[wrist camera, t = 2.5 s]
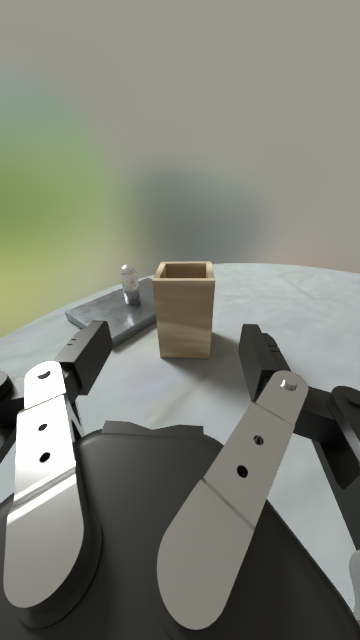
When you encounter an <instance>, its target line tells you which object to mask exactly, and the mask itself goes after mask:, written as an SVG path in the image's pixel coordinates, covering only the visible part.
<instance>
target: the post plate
mask: <svg viewBox="0 0 360 640" xmlns="http://www.w3.org/2000/svg"><path fill="white" fill-rule="evenodd" d="M120 277H121V282H122V287H123V288H122V289H119V290H117V291H115V292H112V293H110V294H107V295H105V296H102V297H100V298H97V299H95V300H93V301H90V302H88V303H85V304H83V305H80V306H78V307H75V308H73V309H71V310H68V311H66V312H65V314H66V316H67V319H68V320H69V321H70V322H72V323H73V324H75V325H76V326H78V327H79V328H81V329H84V328H87V327H88V325H89V324H90V323H91V322H92V321H93V320H99V321H107V322H108V325H109V329H110V333H111V337H112V342H113V347H112V348H114V347H115V346H117V345H119V344H120V343H122V342H123V341H125V340H127V339H128V338H130V337H132V336H133V335H135V334H136V333H138V332H140V331H141V330H143V329H144V328H146V327H148V326H149V325H151V324H152V323H154V322H156V312H155V303H154V294H153V285H152V279H149V278H146V279H144V280H141V281H139V282H138V279H137V272H136V269H135V268H134V267H133V266H132V265H129V264H127V265H124V266H122V267H121V269H120Z"/></svg>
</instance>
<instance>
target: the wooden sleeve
mask: <svg viewBox="0 0 360 640" xmlns="http://www.w3.org/2000/svg"><path fill="white" fill-rule="evenodd" d="M152 285H153V294H154V303H155V312H156V321H157V330H158V339H159V348H160V357H161V358H194V359H210V346H211V332H212V318H213V303H214V289H215V278H214V273H213V268H212V263H211V262H161V264H160V266H159V268H158V270H157V272H156V274H155V276H154V278H153V280H152Z"/></svg>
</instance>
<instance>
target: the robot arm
mask: <svg viewBox="0 0 360 640" xmlns="http://www.w3.org/2000/svg"><path fill="white" fill-rule="evenodd" d="M112 347H113V342H112V337H111V333H110V329H109V325H108V322H107V321H99V320H93V321H92V322H91V323H90V324H89V325H88V327H87V328H84V329H82V330H81V331H79V332H78V333H76V334H75V335H74V337H73V338H72V339H71V340H70V341H69V342H68V343H67V345H66V346H65V347H64V348H63V349H62V350H61V352H60V353H59V354H58V355H57V356H56V357H55V358H54V360H53V361H52V362H47V363H43V364H40V365H38V366H36V367H35V368H33V369H32V370H31V371H29V373H28V374H27V375H26V376H21V377H16V378H11V379H10V378H9V376H8V375H7V374H6V373H5V372H3V371H0V463H1V462H2V460H3V459H4V457H5V456H6V454H7V453H8V451H9V450H10V448H11V447H12V445H13V444H14V443H15V441H16V440H17V443H16V467H15V490H14V493H13V494H11V495H10V496H9V497H8V498H7V499H5V500H4V501H3V502H2V503H0V640H360V391H358V390H356V389H353V388H350V387H346V386H337V387H335V388H334V389H333V390H332V392H331V393H330V392H326V391H323V390H319V389H315V388H312V387H309V386H308V385H307V383H306V382H305V380H304V379H303V378H302V377H300V376H299V375H297V374H295V373H293V372H291V370H290V368H289V366H288V364H287V362H286V361H285V359H284V357H283V355H282V353H281V352H280V349H279V348H278V347H277V344H276V342H275V340H274V339H273V338H272V337H271V336H270V335H268V334H267V333H262V332H261V330H260V328H259V326H258V325H257V324H243V327H242V332H241V338H240V343H239V356H240V360H241V363H242V367H243V371H244V375H245V378H246V382H247V386H248V390H249V393H250V397H251V401H252V404H251V405H250V406H249V408H248V409H247V411H246V413H245V414H244V416H243V417H242V419H241V420H240V422H239V423H238V425H237V426H236V428H235V430H234V431H233V433H232V434H231V436H230V437H229V439H228V440H227V442H226V444H225V445H223V444H221V443H220V442H219V441H217V440H215V439H214V438H212V437H210V436H207V435H204V434H203V426H191V425H175V426H170V427H165V428H160V429H155V430H151V429H148V428H145V427H142V426H139V425H137V424H134V423H131V422H121V421H105V424H104V426H103V429H100V430H96V431H94V432H91V433H89V434H87V435H85V433H84V429H83V425H82V421H81V417H80V413H79V409H78V405H77V402H76V398H77V396H78V395H88V393H89V391H90V389H91V388H92V386H93V384H94V382H95V380H96V378H97V377H98V375H99V373H100V371H101V369H102V367H103V366H104V364H105V362H106V360H107V358H108V356H109V355H110V353H111V351H112ZM292 433H295V434H298V435H300V436H303V437H306V438H309V439H311V440H312V442H313V445H314V447H315V450H316V452H317V455H318V457H319V460H320V462H321V464H322V467H323V469H324V472H325V474H326V477H327V479H328V481H329V484H330V486H331V489H332V491H333V494H334V496H335V499H336V501H337V503H338V506H339V508H340V511H341V513H342V516H343V518H344V520H345V523H346V525H347V528H348V530H349V533H350V535H351V538H352V540H353V542H354V545H355V547H356V550H357V551H356V552H354V553H353V554H352V556H351V558H350V562H349V571H350V577H351V580H352V584H353V588H354V593H355V608H354V612H353V613H352V611H351V609H350V608H349V606H348V605H347V603H346V601H345V600H344V598H343V597H342V596H341V594H340V593H339V591H338V590H337V589H336V587H335V586H334V585H333V583H332V582H331V581H330V580H329V578H328V577H327V576H326V574H325V573H324V572H323V571H322V569H321V568H320V567H319V565H318V564H317V563H316V562H315V560H314V559H313V558H312V556H311V555H310V554H309V553H308V551H307V550H306V549H305V547H304V546H303V545H302V544H301V542H300V541H299V540H298V538H297V537H296V536H295V535H294V533H293V532H292V531H291V529H290V528H289V527H288V525H287V524H286V523H285V522H284V520H283V519H282V518H281V516H280V515H279V514H278V513H277V511H276V510H275V509H274V507H273V506H272V505H271V504H270V502H269V501H268V500H267V496H268V494H269V491H270V489H271V486H272V484H273V481H274V479H275V476H276V474H277V471H278V468H279V466H280V463H281V461H282V458H283V456H284V453H285V451H286V448H287V446H288V443H289V441H290V438H291V436H292Z"/></svg>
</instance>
